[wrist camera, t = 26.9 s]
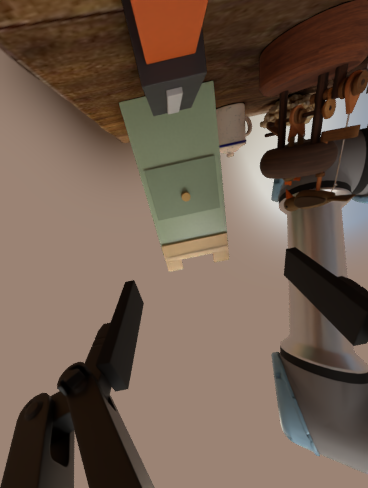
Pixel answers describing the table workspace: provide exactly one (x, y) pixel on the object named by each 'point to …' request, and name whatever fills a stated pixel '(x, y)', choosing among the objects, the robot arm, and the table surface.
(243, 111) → the teacup with lid
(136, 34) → the bar
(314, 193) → the music box
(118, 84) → the table surface
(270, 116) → the mineral formation
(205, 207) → the drawer stand
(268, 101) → the table surface
